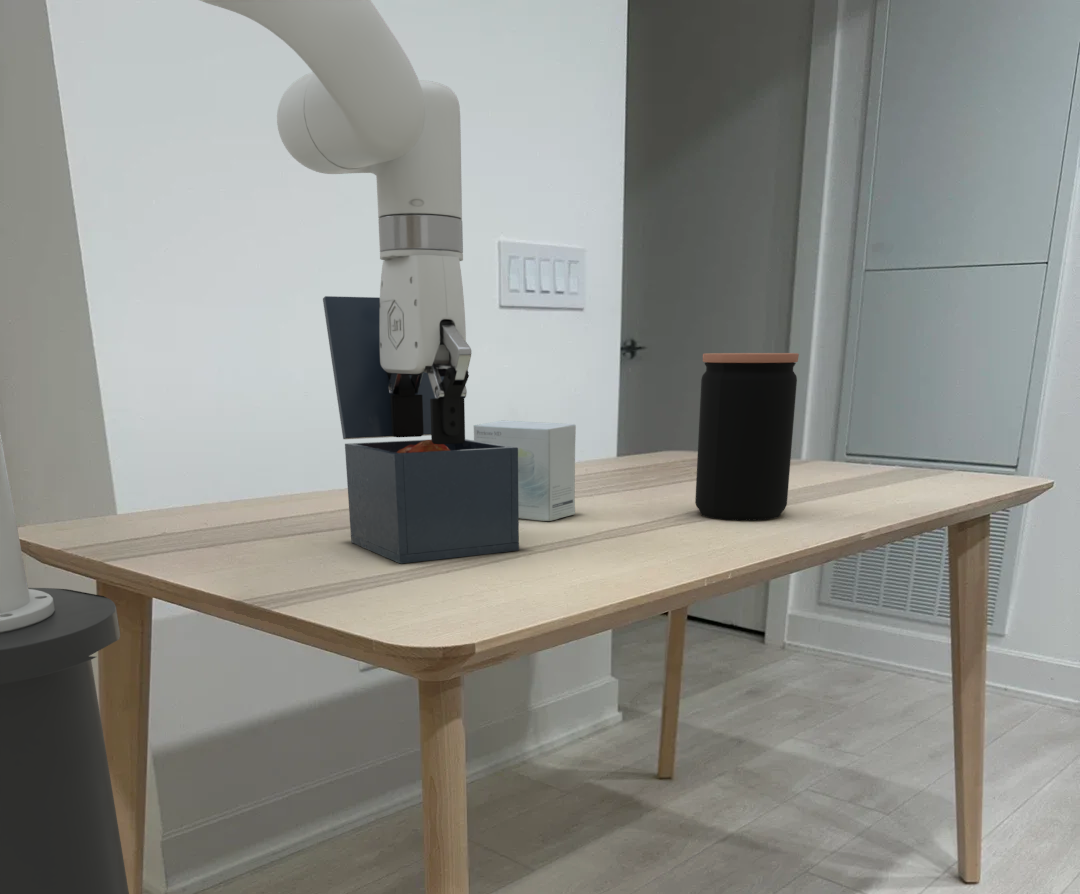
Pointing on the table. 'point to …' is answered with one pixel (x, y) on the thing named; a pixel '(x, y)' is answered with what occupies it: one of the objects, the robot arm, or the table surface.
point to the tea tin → (433, 500)
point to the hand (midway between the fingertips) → (427, 439)
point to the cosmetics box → (539, 465)
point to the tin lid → (363, 369)
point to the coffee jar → (745, 435)
